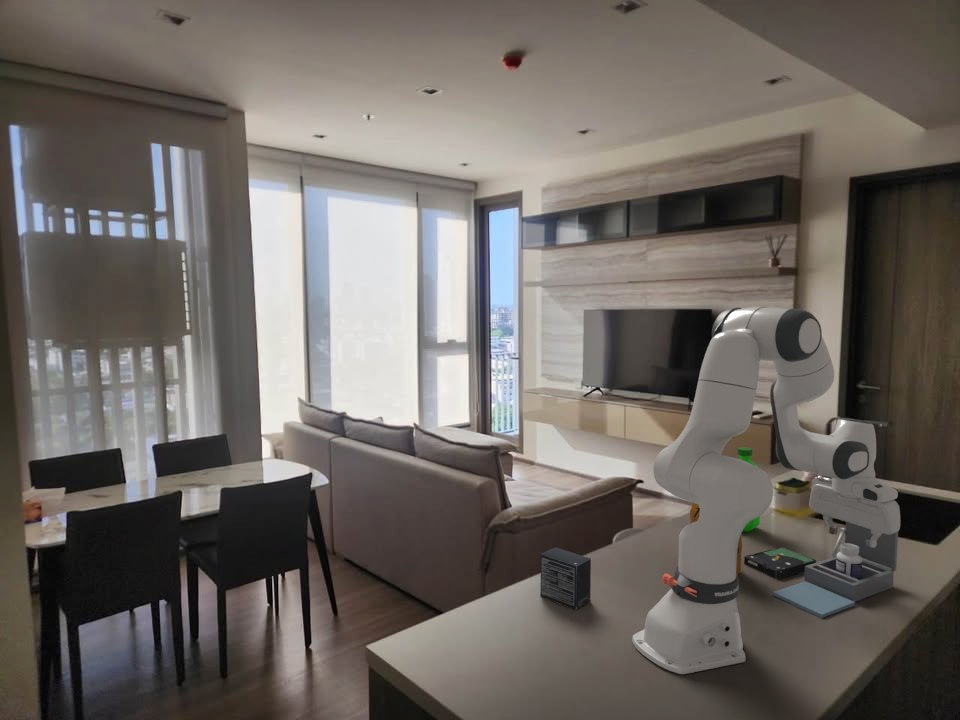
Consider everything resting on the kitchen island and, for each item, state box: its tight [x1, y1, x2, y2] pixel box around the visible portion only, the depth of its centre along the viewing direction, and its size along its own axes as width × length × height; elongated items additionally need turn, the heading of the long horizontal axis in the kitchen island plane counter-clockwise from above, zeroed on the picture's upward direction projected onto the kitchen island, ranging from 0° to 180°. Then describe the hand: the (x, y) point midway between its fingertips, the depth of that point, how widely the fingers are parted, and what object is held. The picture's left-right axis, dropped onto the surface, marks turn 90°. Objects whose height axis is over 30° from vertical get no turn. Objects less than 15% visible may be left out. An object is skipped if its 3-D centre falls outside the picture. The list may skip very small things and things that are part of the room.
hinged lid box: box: [803, 522, 899, 603], centre depth 148 cm, size 17×13×20 cm
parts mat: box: [772, 581, 856, 619], centre depth 141 cm, size 12×12×1 cm
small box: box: [539, 547, 592, 611], centre depth 142 cm, size 11×6×10 cm, turn 47°
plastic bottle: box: [736, 446, 761, 533], centre depth 185 cm, size 10×10×25 cm
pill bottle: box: [835, 542, 862, 580], centre depth 148 cm, size 5×5×10 cm
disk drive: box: [743, 547, 817, 580], centre depth 159 cm, size 10×3×15 cm
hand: (851, 539), depth 148 cm, fingers open, 8 cm apart
